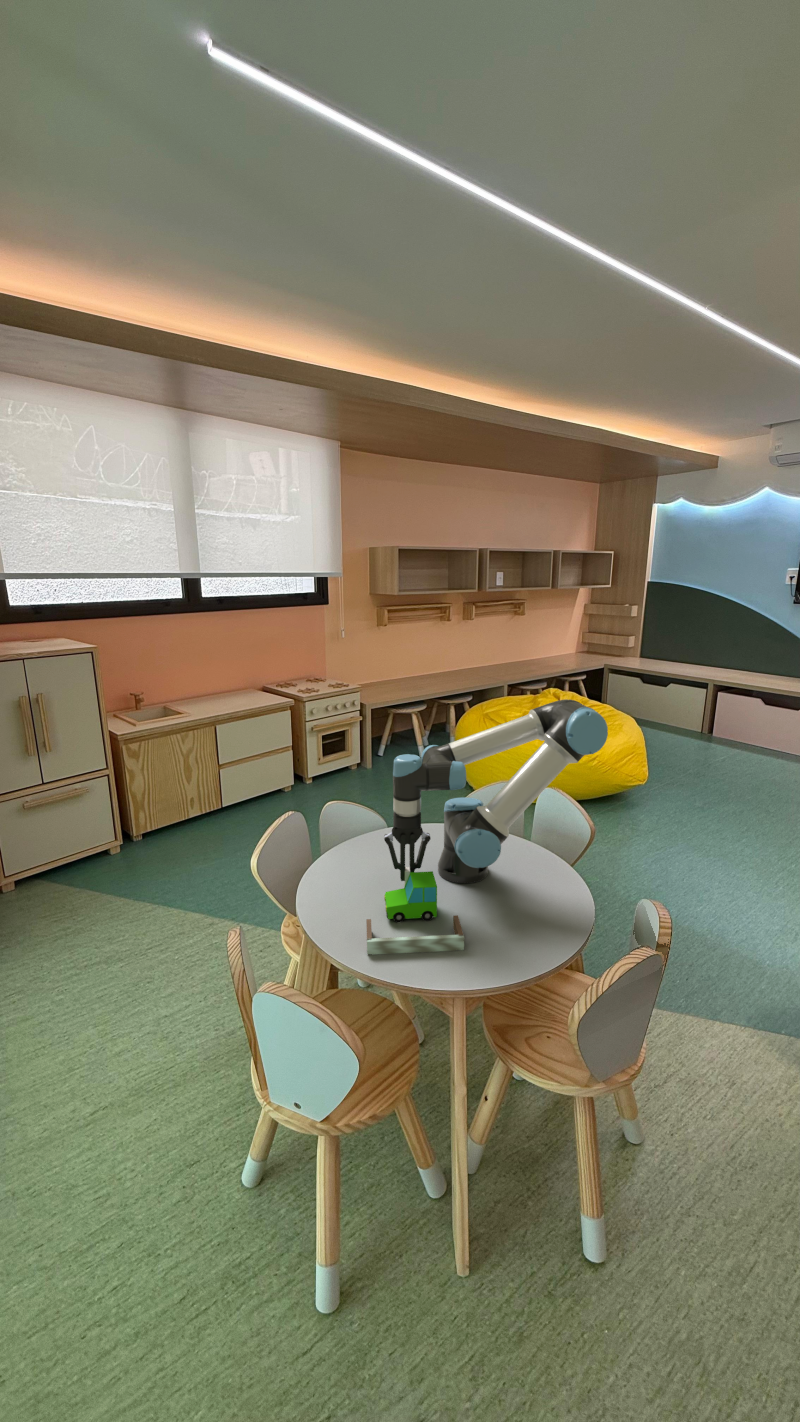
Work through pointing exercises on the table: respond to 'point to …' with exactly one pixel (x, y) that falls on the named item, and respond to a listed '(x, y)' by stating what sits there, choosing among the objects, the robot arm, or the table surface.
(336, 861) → the table surface
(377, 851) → the table surface
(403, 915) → the toy car
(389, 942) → the bay
